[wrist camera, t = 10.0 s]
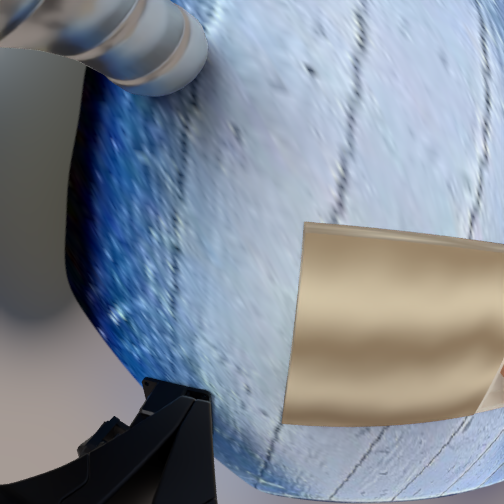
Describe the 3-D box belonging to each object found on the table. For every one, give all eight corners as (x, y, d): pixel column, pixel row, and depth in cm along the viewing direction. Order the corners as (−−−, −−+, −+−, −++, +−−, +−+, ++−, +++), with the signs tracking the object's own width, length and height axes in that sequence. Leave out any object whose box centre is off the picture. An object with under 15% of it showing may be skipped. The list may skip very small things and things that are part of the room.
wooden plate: (460, 390, 20) (473, 414, 16) (285, 393, 22) (281, 423, 19) (510, 245, 16) (536, 257, 13) (304, 221, 18) (305, 232, 15)
